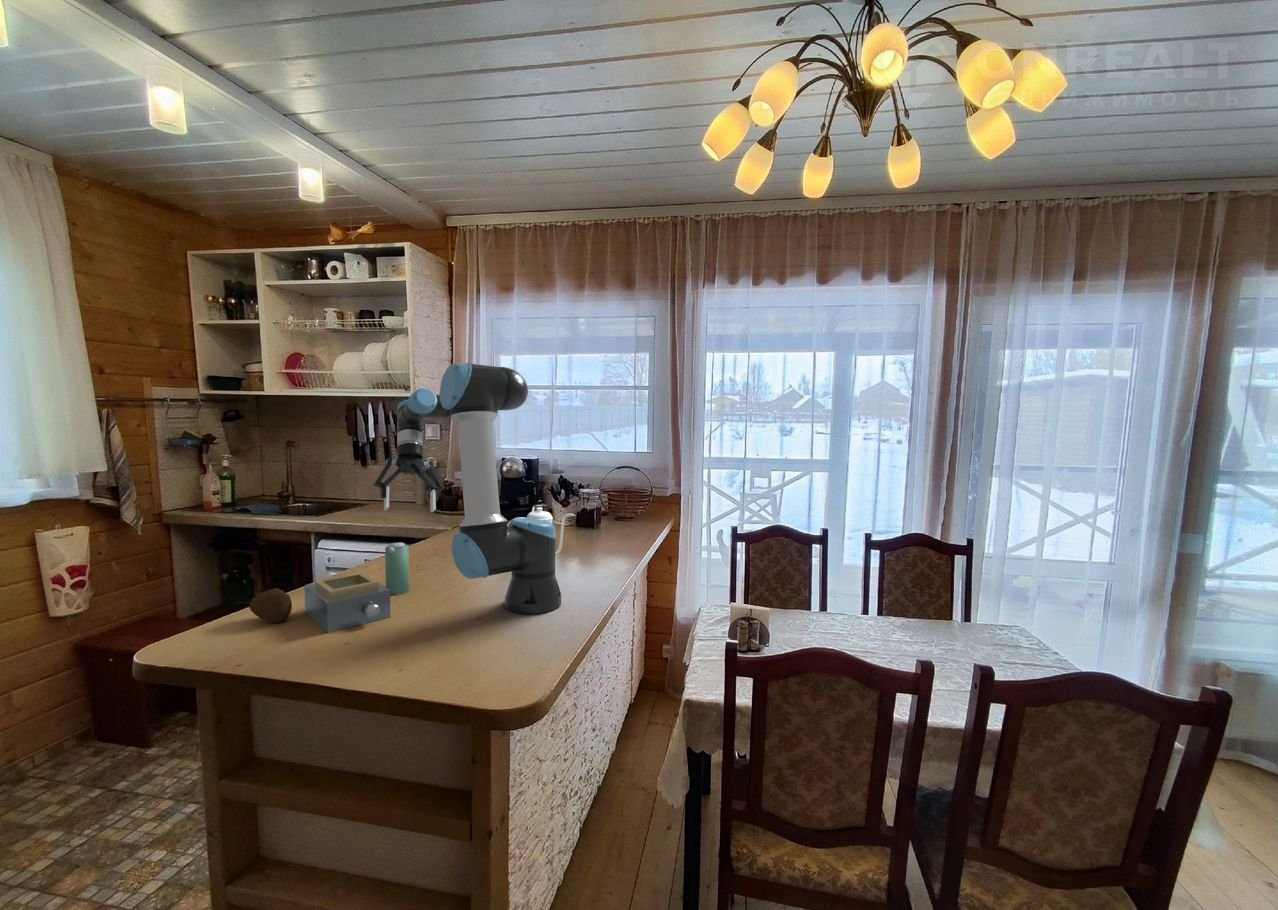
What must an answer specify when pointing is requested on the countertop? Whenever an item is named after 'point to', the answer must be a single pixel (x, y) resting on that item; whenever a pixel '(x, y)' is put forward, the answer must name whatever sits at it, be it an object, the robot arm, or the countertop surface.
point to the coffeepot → (546, 517)
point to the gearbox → (346, 601)
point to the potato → (272, 605)
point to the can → (397, 568)
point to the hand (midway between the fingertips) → (410, 509)
